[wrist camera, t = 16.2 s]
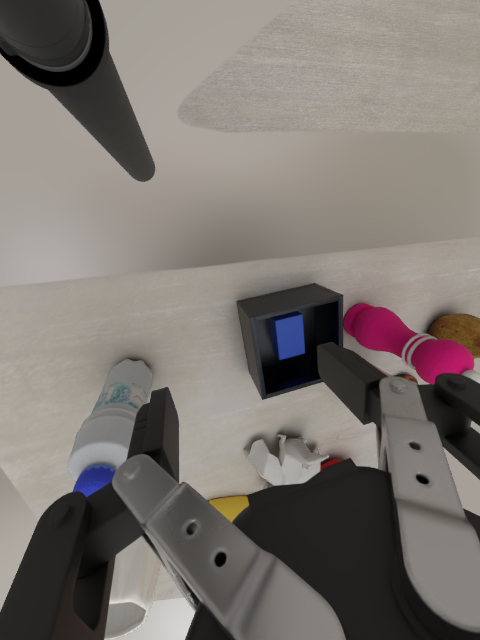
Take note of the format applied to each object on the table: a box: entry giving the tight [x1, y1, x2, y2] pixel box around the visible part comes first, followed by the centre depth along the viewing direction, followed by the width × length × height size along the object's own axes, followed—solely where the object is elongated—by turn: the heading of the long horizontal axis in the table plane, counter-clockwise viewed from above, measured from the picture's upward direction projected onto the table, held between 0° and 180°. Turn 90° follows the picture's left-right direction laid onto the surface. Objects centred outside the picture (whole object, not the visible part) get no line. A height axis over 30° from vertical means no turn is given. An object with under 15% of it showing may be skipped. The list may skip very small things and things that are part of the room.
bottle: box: [68, 359, 153, 497], centre depth 30 cm, size 7×7×20 cm
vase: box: [104, 537, 161, 640], centre depth 42 cm, size 14×14×15 cm
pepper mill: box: [343, 303, 480, 384], centre depth 36 cm, size 7×7×20 cm
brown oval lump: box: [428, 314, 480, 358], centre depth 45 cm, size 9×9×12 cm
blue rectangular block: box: [269, 311, 305, 360], centre depth 40 cm, size 7×4×3 cm, turn 9°
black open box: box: [236, 283, 343, 400], centre depth 38 cm, size 13×13×8 cm
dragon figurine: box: [244, 434, 329, 489], centre depth 49 cm, size 15×15×9 cm
